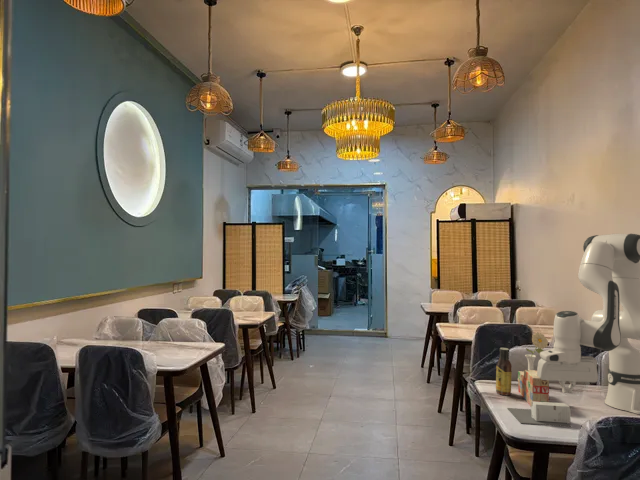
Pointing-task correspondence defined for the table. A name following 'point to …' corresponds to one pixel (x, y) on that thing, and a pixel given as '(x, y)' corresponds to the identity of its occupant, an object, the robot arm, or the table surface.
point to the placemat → (526, 418)
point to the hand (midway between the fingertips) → (567, 392)
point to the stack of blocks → (533, 387)
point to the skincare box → (550, 412)
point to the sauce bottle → (503, 373)
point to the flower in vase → (538, 342)
